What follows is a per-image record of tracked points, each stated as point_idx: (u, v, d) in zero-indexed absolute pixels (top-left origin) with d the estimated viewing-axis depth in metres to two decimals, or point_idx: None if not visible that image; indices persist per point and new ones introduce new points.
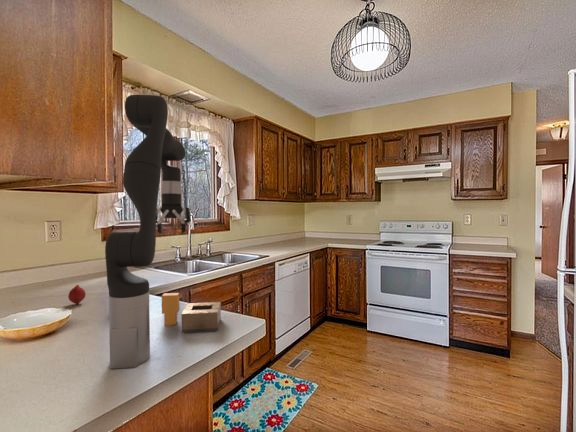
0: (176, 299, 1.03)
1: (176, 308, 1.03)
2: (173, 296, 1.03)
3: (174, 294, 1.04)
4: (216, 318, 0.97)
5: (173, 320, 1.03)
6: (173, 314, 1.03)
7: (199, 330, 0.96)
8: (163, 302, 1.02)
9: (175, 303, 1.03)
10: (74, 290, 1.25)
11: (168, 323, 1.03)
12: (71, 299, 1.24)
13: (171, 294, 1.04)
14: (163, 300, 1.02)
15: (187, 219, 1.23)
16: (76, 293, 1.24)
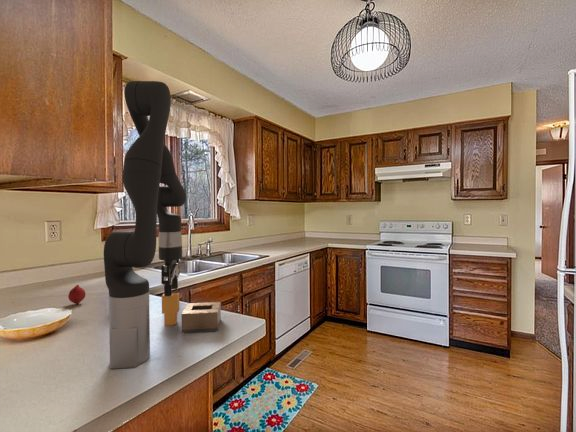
0: (176, 299, 1.03)
1: (176, 308, 1.03)
2: (173, 296, 1.03)
3: (174, 294, 1.04)
4: (216, 318, 0.97)
5: (173, 320, 1.03)
6: (173, 314, 1.03)
7: (199, 330, 0.96)
8: (163, 302, 1.02)
9: (175, 303, 1.03)
10: (74, 290, 1.25)
11: (168, 323, 1.03)
12: (71, 299, 1.24)
13: None
14: (163, 300, 1.02)
15: (179, 271, 1.11)
16: (76, 293, 1.24)
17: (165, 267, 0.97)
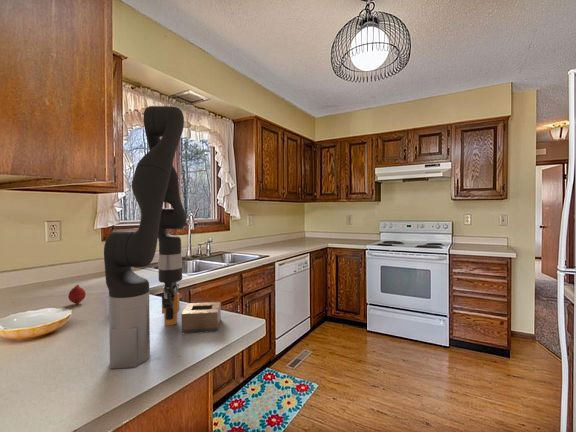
0: (176, 299, 1.03)
1: (176, 308, 1.03)
2: None
3: None
4: (216, 318, 0.97)
5: (173, 320, 1.03)
6: (173, 314, 1.03)
7: (199, 330, 0.96)
8: None
9: (175, 303, 1.03)
10: (74, 290, 1.25)
11: (168, 323, 1.03)
12: (71, 299, 1.24)
13: None
14: None
15: None
16: (76, 293, 1.24)
17: (165, 295, 0.98)
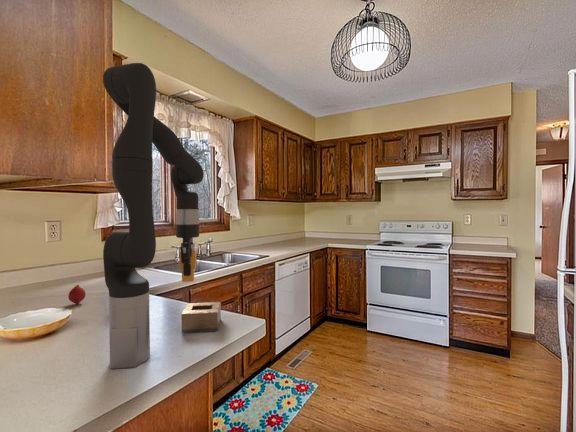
0: (194, 255, 1.01)
1: (194, 264, 1.01)
2: None
3: None
4: (216, 318, 0.97)
5: (191, 277, 1.01)
6: (191, 270, 1.01)
7: (199, 330, 0.96)
8: None
9: (193, 259, 1.01)
10: (74, 290, 1.25)
11: (186, 280, 1.01)
12: (71, 299, 1.24)
13: None
14: None
15: None
16: (76, 293, 1.24)
17: (184, 249, 0.96)
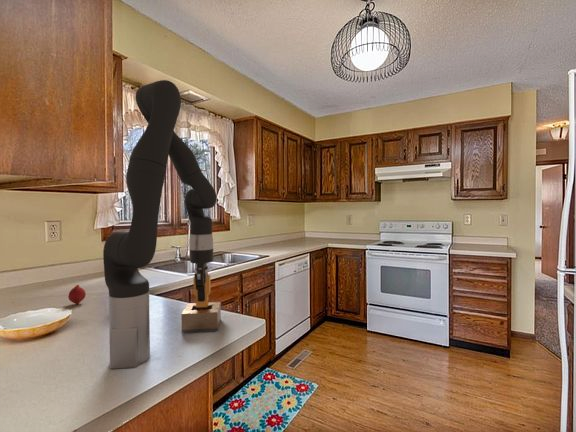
0: (208, 281, 1.00)
1: (208, 290, 1.00)
2: None
3: None
4: (216, 318, 0.97)
5: (205, 302, 1.00)
6: (205, 296, 1.00)
7: (199, 330, 0.96)
8: (195, 284, 1.00)
9: (207, 285, 1.00)
10: (74, 290, 1.25)
11: (200, 305, 1.00)
12: (71, 299, 1.24)
13: None
14: None
15: None
16: (76, 293, 1.24)
17: (198, 276, 0.95)
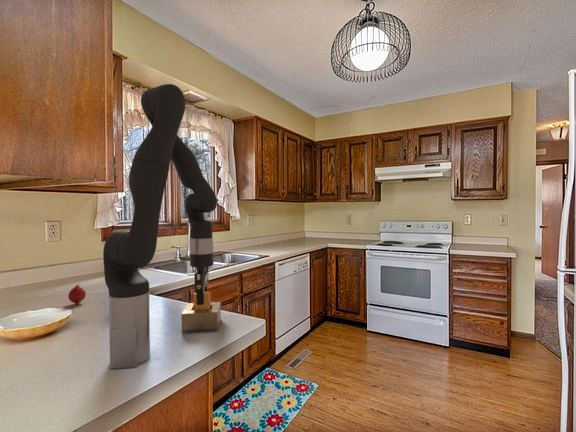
0: (208, 298, 1.00)
1: (208, 307, 1.00)
2: (205, 295, 1.00)
3: (206, 292, 1.01)
4: (216, 318, 0.97)
5: None
6: None
7: (199, 330, 0.96)
8: (195, 301, 1.00)
9: (207, 302, 1.00)
10: (74, 290, 1.25)
11: None
12: (71, 299, 1.24)
13: None
14: (195, 299, 1.00)
15: None
16: (76, 293, 1.24)
17: (198, 275, 0.95)
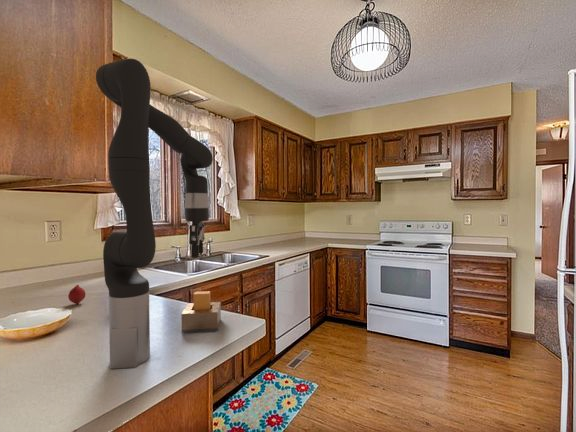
0: (208, 298, 1.00)
1: (208, 307, 1.00)
2: (205, 295, 1.00)
3: (206, 292, 1.01)
4: (216, 318, 0.97)
5: None
6: None
7: (199, 330, 0.96)
8: (195, 301, 1.00)
9: (207, 302, 1.00)
10: (74, 290, 1.25)
11: None
12: (71, 299, 1.24)
13: (203, 292, 1.02)
14: (195, 299, 1.00)
15: None
16: (76, 293, 1.24)
17: (193, 226, 0.96)
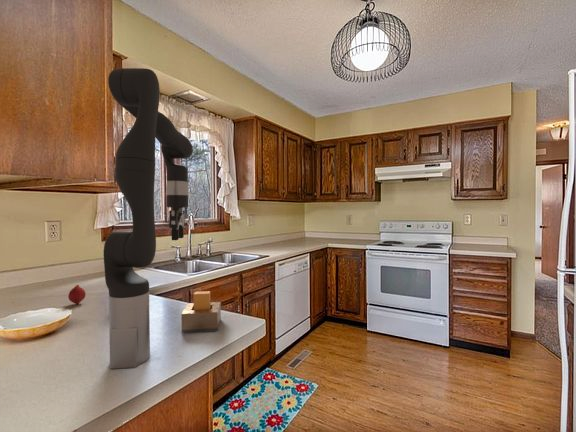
0: (208, 298, 1.00)
1: (208, 307, 1.00)
2: (205, 295, 1.00)
3: (206, 292, 1.01)
4: (216, 318, 0.97)
5: None
6: None
7: (199, 330, 0.96)
8: (195, 301, 1.00)
9: (207, 302, 1.00)
10: (74, 290, 1.25)
11: None
12: (71, 299, 1.24)
13: (203, 292, 1.02)
14: (195, 299, 1.00)
15: (184, 222, 1.17)
16: (76, 293, 1.24)
17: (173, 211, 1.04)
